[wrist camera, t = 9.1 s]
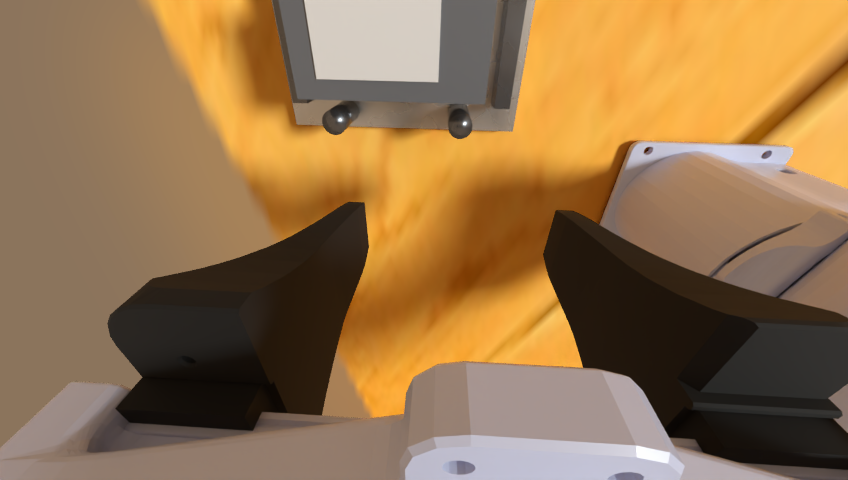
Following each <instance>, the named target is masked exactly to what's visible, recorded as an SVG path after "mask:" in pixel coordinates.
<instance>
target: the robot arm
mask: <svg viewBox="0 0 848 480" xmlns="http://www.w3.org/2000/svg"><path fill="white" fill-rule="evenodd" d="M647 147H650V148H649V150H648V151H647V152H646V153H644V150H645V148H647ZM764 152H766V153H765V154H764V155H763V156H762V154H763V153H764ZM792 154H793V149H792V148H791V147H788V146H785V145H759V144H728V143H697V142H665V141H636V142H634V143H633V144H632V145H631V146H630V148H629V150H628V152H627V155H626V157H625V160H624V162H623V165H622V168H621V170H620V173H619V175H618V178H617V180H616V183H615V186H614V188H613V191H612V193H611V196H610V199H609V201H608V204H607V206H606V209H605V211H604V214H603V217H602V219H601V222H600V224H597V223H595V222H594V221H592V220H590V219H588V218H587V217H585V216H583V215H581V214H579V213H577V212H574V211H563V210H556V212H555V215H554V219H553V222H552V226H551V229H550V233H549V236H548V240H547V243H546V246H545V250H544V253H543V256H544V260H545V265H546V269H547V272H548V276H549V278H550V281H551V283H552V286H553V288H554V290H555V293H556V295H557V297H558V299H559V302H560V304H561V306H562V308H563V311H564V313H565V315H566V318H567V320H568V322H569V324H570V327H571V330H572V332H573V335H574V338H575V341H576V345H577V348H578V351H579V354H580V358H581V361H582V365H583V368H576V367H559V366H541V365H523V364H506V363H488V362H470V361H462V362H453V363H443V364H437V365H435V366H433V367H432V368H430V369H428V370H426V371H424V372H422V373H420V374H418V375H417V376H415V377H414V378H413V380H412V382H411V384H410V386H409V388H408V390H407V393H406V401H405V411H404V414H400V415H392V416H384V417H376V418H369V419H367V418H352V417H351V418H350V417H336V416H322V411H323V407H324V401H325V397H326V392H327V388H328V383H329V378H330V374H331V370H332V366H333V361H334V357H335V353H336V349H337V345H338V341H339V337H340V334H341V330H342V326H343V322H344V319H345V316H346V313H347V311H348V308H349V306H350V303H351V301H352V298H353V295H354V293H355V290H356V288H357V285H358V283H359V280H360V277H361V275H362V272H363V269H364V266H365V262H366V258H367V253H368V248H369V244H368V234H367V224H366V214H365V204H364V203H362V202H348V203H346V204H344V205H342V206H340V207H339V208H337V209H336V210H334V211H333V212H331V213H330V214H328V215H326V216H325V217H323V218H322V219H320V220H319V221H317V222H315V223H314V224H312V225H310V226H309V227H307V228H305V229H303V230H302V231H300V232H298V233H296V234H295V235H293V236H291V237H289V238H287V239H285V240H282V241H280V242H278V243H276V244H274V245H271V246H269V247H267V248H264V249H261V250H259V251H256V252H253V253H250V254H248V255H245V256H242V257H240V258H236V259H233V260H230V261H226V262H223V263H220V264H216V265H212V266H208V267H205V268H201V269H196V270H192V271H188V272H182V273H178V274H173V275H168V276H164V277H158V278H153V279H152V280H150V281H149V282H148V283H146V284H145V285H144V286H143V287H142V288H141V289H140V290H138V291H137V292H136V293H135V294H134V295H133V296H131V297H130V298H129V299H128V300H127V301H126V302H125V303H123V304H122V305H121V306H120V307H119V308H117V309H116V310H115V311H114V312H113V313H112V314H111V315H110V317H109V320H108V328H109V333H110V337H111V338H112V340H113V341H114V343H115V344H116V346H117V347H118V348H119V349H120V351H121V352H122V353H123V354H124V355H125V357H126V358H127V359H128V360H129V361H130V363H131V364H132V365H133V366H134V367H135V369H136V370H137V371H138V372H139V373H140V375H141V376H142V377H143V378H142V379H141V380H140V381H139V382H138V383H137V384H136V385H135V387H134V388H133V389H132V390H131V389H130V388H127V387H125V386H123V385H118V384H111V383H95V382H78V381H76V382H71V383H69V384H68V385H67V386H66V387H65V388H64V389H63V390H62V391H60V392H59V393H58V394H57V395H56V396H55V397H54V398H53V399H52V400H51V401H50V402H49V403H48V404H47V405H46V406H44V407H43V408H42V409H41V410H40V411H39V412H38V413H37V414H36V415H35V416H34V417H33V418H32V419H30V420H29V421H28V422H27V423H26V424H25V425H24V426H23V427H22V428H21V429H20V430H19V431H18V432H17V433H15V434H14V435H13V436H12V437H11V438H10V439H9V440H8V441H7V442H6V443H5V444H4V445H3V446H2V447H1V448H0V480H848V189H847V188H844V187H841V186H839V185H836V184H834V183H831V182H828V181H826V180H823V179H821V178H818V177H815V176H813V175H810V174H808V173H805V172H802V171H800V170H797V169H794V168H792V167H789V166H787V165H786V163H787V162H788V160H789V159H790V157H791V156H792Z"/></svg>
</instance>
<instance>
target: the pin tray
mask: <svg viewBox="0 0 848 480" xmlns="http://www.w3.org/2000/svg"><path fill="white" fill-rule="evenodd" d="M272 5H273V10H274V15H275V20H276V25H277V29H278V34H279V39H280V44H281V49H282V54H283V59H284V64H285V69H286V74H287V79H288V84H289V88H290V93H291V98H292V103H293V108H294V113H295V118H296V123H297V125H323V126H324V128H325V129H326V131H328V132H329V133H331V134H333V135H338V134H341V133H342V132H343V131H344V130H345V129H346V128H347V127H348V126H356V127H388V128H420V129H449V132H450V134H451V135H452V136H453V137H455V138H457V139H462V138H465V137H467V136H468V135H469V134H470V133H471V131H472V130H483V131H513V126H514V121H515V115H516V109H517V103H518V97H519V92H520V86H521V80H522V74H523V68H524V63H525V57H526V51H527V45H528V39H529V34H530V28H531V22H532V16H533V10H534V5H535V0H497V8H496V17H495V25H494V34H493V42H492V50H491V59H490V67H489V76H488V84H487V93H486V101H485V104H451V103H416V102H381V101H346V100H311V99H297V94H296V88H295V83H294V78H293V73H292V68H291V63H290V57H289V52H288V47H287V42H286V37H285V32H284V27H283V21H282V16H281V11H280V6H279V1H278V0H272Z"/></svg>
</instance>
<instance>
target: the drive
mask: <svg viewBox="0 0 848 480" xmlns="http://www.w3.org/2000/svg"><path fill="white" fill-rule="evenodd" d="M278 1H279V6H280V11H281V16H282V21H283V27H284V32H285V37H286V42H287V47H288V52H289V57H290V63H291V68H292V73H293V78H294V83H295V88H296V94H297V99H311V100H346V101H381V102H416V103H451V104H485V101H486V93H487V84H488V76H489V67H490V59H491V50H492V42H493V34H494V25H495V17H496V8H497V0H278Z"/></svg>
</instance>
